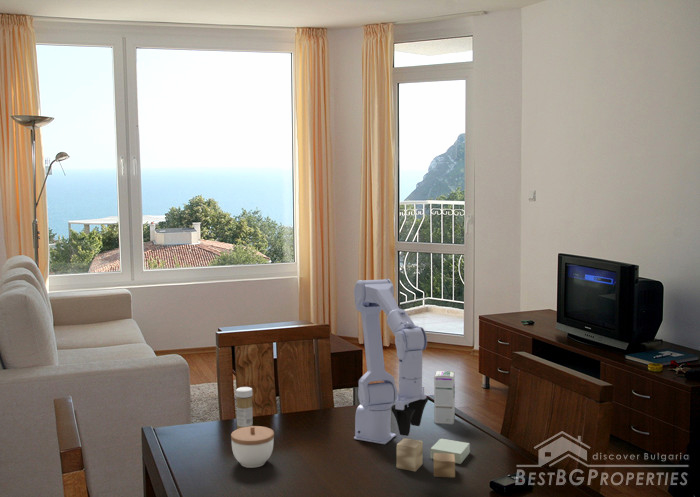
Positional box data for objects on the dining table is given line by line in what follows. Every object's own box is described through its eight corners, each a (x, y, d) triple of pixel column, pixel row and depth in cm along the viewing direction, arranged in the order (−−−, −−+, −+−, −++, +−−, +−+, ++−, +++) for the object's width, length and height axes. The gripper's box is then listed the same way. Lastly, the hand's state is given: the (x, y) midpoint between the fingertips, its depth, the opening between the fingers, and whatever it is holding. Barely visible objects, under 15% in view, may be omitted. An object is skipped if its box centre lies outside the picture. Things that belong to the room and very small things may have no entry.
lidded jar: (239, 474, 166) (238, 437, 166) (225, 459, 176) (225, 423, 175) (280, 466, 171) (280, 430, 170) (265, 452, 181) (265, 417, 180)
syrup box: (453, 424, 202) (454, 376, 201) (433, 423, 203) (434, 375, 202) (454, 418, 208) (455, 371, 206) (435, 417, 209) (435, 370, 208)
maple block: (396, 467, 171) (396, 444, 170) (403, 460, 175) (404, 437, 175) (415, 471, 169) (415, 447, 168) (422, 464, 173) (422, 441, 173)
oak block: (433, 476, 166) (434, 460, 165) (433, 468, 171) (433, 452, 170) (454, 477, 165) (455, 461, 165) (453, 469, 170) (454, 453, 170)
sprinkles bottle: (248, 431, 196) (247, 385, 195) (255, 436, 192) (255, 389, 191) (233, 434, 193) (233, 388, 192) (240, 439, 190) (240, 392, 188)
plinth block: (430, 459, 177) (430, 448, 177) (440, 449, 184) (440, 438, 184) (460, 465, 173) (460, 453, 173) (469, 454, 181) (469, 443, 180)
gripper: (415, 385, 162) (414, 442, 163) (435, 371, 175) (435, 423, 176) (387, 382, 165) (387, 437, 166) (409, 368, 178) (409, 419, 179)
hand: (410, 430), depth 171 cm, fingers open, 7 cm apart
